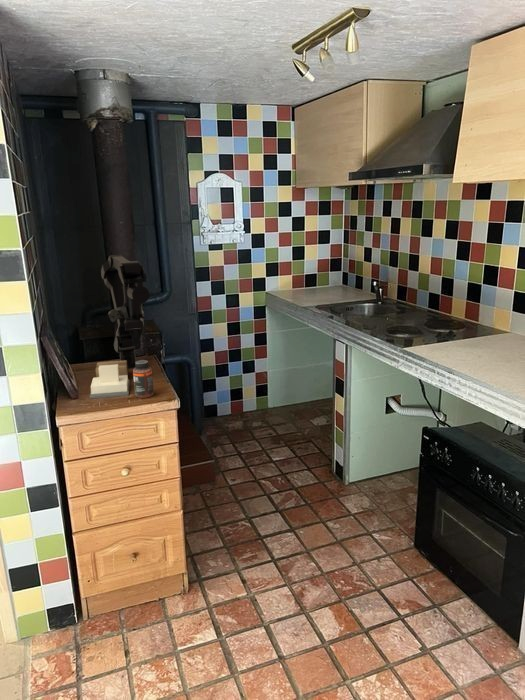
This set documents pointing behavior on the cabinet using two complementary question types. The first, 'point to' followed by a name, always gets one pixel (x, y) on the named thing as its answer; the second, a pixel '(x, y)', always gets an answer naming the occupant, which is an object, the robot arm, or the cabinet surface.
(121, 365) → the storage box
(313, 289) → the cabinet surface
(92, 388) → the lid
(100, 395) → the mat
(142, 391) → the supplement bottle
